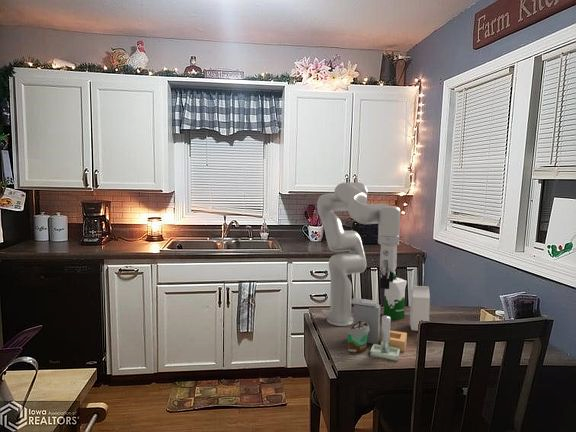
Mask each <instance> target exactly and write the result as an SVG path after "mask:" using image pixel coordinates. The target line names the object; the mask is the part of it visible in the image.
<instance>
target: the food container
mask: <svg viewBox="0 0 576 432" xmlns="http://www.w3.org/2000/svg"><path fill="white" fill-rule="evenodd" d="M369 330H370V329H369V325H368V323H367V322H366V321H364V320H361V319H359V322H358V323H356V324H354V325H353V324H352V326H351V328H349V327H347V331H346V332H347V333H346V334H347V345H348V346H347V350H348V351H347V352H349V353H348V354H353V353H356V354H358V353H359V354H363V353H365V352H366V351H367V344H368V343H367V334H368V332H369Z"/></svg>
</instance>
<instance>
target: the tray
mask: <svg viewBox="0 0 576 432" xmlns="http://www.w3.org/2000/svg"><path fill="white" fill-rule="evenodd" d="M400 353H401V351H400V348H395V347H390V353H389V354H386V353H381V344H378V345H377V344H373V345H372V346H371V349H370V351H369V357H374V358H378V357H379V358H378V359H384V358H385V359H384V360H389V359H390V360H391V361H396V362H398V361H399V357H400ZM390 360H389V361H390Z"/></svg>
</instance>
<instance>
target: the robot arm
mask: <svg viewBox="0 0 576 432" xmlns="http://www.w3.org/2000/svg"><path fill="white" fill-rule="evenodd" d="M367 202H368V188H367V186H366V185H365V184H364V183H362V182H359V181H357V182H342V183H338V184H337V185H336V186H335V188H334V192H333V193H332V192H331V193H329V192H328V193H324V194H321V195H320V196H319V197H318V199H317V203H316V207H317V213H318V216H319V218H320V221H321V222H322V225H323V229H324V233H325V234H324V235H325V239H326V242H327V247H328V249H329V251H331V252H335V253H337V252H343V253H337V254H334V255H331V257H330V258H329V260H328V268H329V274H330V275H329V276H330V308H329V309H328V310H327V309H322V310H321V314H322V316H325V317H326V316H327V317H326V322H327V323H328V324H330V325H332V326H336V327H337V326H338V327H347V326H351V325H352V326H353V316H352V304H351V301H352V293H353V292H352V291H353V290H352V289H353V288H352V287H353V286H352V282H351V280H350V278H349V277H348V275H351V274H352V275H354V274H361V273H363V272H365V270H366V269H367V264H368V263H367V259H366V254H365V249H364V246H363V241H362V238H361V236H360V234H359V233H358V232H357V231H355V230H345V229H344V227H343V224H342V220H341V219H340V218H339V216H338V215H337V214H336V213H335V212H345V211H346V212H348V214H349V215H348V216H350V218H351V219H352V220H354V221H355V222H357V223H358V224H362V225H373V224H375V225H376V224H378V234H377V236H378V237H377V244H379V245H380V250H379V251H380V253H379V254H380V255H379V270H380V279H379V280H380V281H379V287H380V289H384V290H385V289H389V283H390V282H393V274H395V273H394V272H395V271H396V269H397V265H398V263H397V260H398V258H397V255H398V253H397V252H398V250H397V249H398V248H397V246H399V245H400V234H401V232H400V231H401V230H400V229H401V226H400V225H401V209H400V207H398V206H394V205H389V204H385V203H371V204H369V203H367Z"/></svg>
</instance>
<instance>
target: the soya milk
mask: <svg viewBox="0 0 576 432" xmlns="http://www.w3.org/2000/svg"><path fill="white" fill-rule="evenodd" d="M407 283H408V281H407V280H405V279H403V278H400V277H397V274H395V273H394V274H393V282H390V283H389V289H384V298H383V299H384V301H383V302H384V306H383V315H382V316H384V315H386V316H390V317H391V320H393V321H396V320H400V319H403V318H405V292H406V291H405V290H406V286H407Z"/></svg>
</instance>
